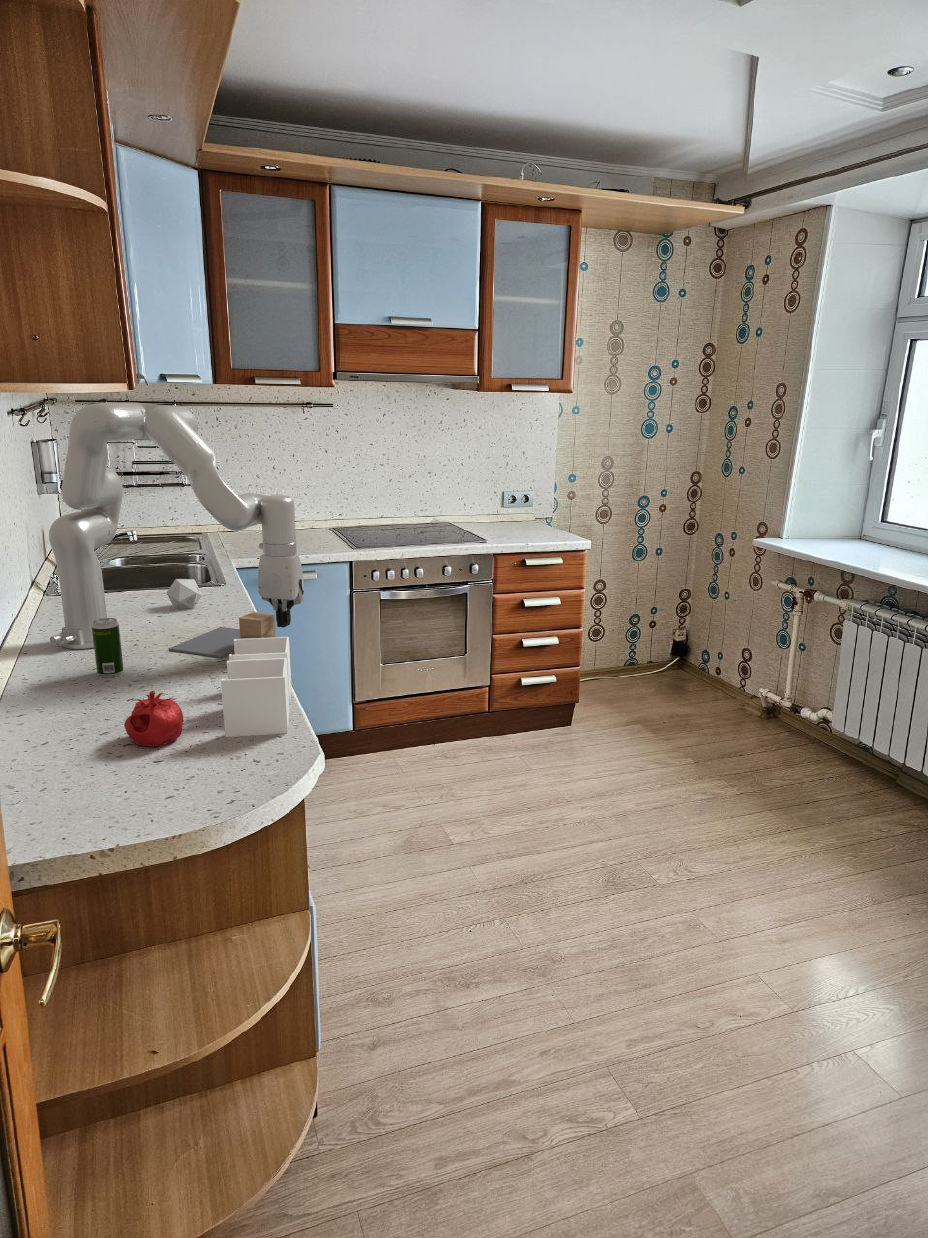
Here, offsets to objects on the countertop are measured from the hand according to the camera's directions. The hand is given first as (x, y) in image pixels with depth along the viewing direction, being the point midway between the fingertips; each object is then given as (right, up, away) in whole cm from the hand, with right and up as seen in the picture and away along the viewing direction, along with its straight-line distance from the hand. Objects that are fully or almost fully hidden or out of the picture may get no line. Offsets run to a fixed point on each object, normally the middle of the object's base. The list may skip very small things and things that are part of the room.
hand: (283, 625), depth 191 cm
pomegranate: (-12, -20, -47) cm, 53 cm away
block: (-7, -5, +4) cm, 10 cm away
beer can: (-35, -11, -15) cm, 39 cm away
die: (-37, +5, +40) cm, 54 cm away
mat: (-17, -4, +8) cm, 19 cm away
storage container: (+3, -16, -33) cm, 37 cm away
